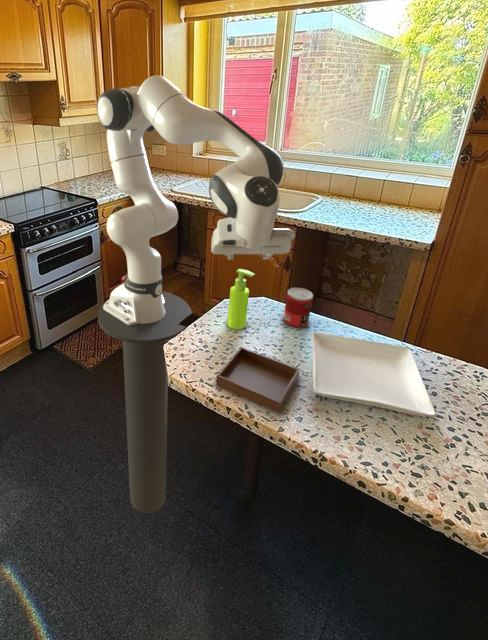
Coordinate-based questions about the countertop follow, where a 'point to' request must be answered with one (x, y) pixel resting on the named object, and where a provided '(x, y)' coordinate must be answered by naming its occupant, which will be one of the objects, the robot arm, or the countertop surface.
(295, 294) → the canned food
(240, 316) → the soap dispenser
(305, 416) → the countertop surface
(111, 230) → the robot arm
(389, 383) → the square plate
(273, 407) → the tray
